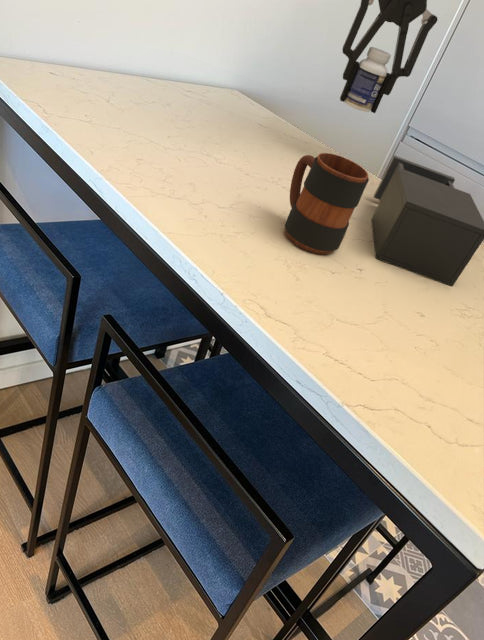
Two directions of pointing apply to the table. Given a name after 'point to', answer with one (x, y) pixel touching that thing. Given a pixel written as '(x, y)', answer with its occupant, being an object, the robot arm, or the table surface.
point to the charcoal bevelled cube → (426, 227)
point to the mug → (323, 201)
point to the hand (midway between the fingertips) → (357, 104)
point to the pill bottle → (368, 80)
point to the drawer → (412, 168)
